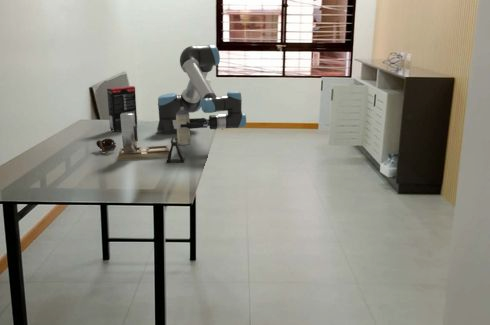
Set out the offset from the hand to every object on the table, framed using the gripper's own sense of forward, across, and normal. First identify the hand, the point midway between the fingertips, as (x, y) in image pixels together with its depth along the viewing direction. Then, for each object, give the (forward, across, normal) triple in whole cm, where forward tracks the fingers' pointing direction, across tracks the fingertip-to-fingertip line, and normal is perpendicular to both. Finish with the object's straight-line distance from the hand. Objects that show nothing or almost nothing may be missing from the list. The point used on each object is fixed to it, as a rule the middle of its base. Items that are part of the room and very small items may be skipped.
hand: (173, 124), depth 274 cm
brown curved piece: (+36, +12, -16) cm, 41 cm away
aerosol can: (-5, 0, -11) cm, 12 cm away
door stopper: (+1, -18, -15) cm, 24 cm away
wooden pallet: (+16, -3, -15) cm, 22 cm away
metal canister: (+23, -3, -13) cm, 26 cm away
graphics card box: (+28, +69, -16) cm, 76 cm away
